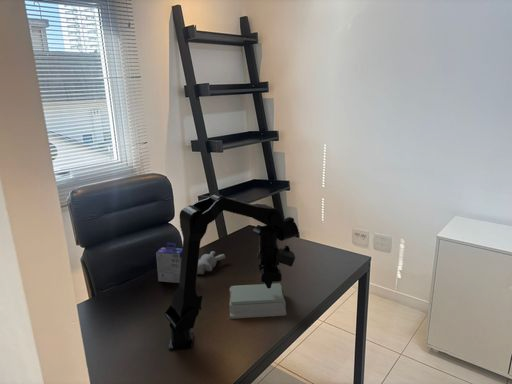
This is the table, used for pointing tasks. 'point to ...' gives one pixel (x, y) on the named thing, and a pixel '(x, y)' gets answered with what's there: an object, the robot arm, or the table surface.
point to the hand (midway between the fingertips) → (268, 287)
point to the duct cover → (256, 294)
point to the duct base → (257, 309)
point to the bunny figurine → (208, 262)
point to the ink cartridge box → (169, 263)
